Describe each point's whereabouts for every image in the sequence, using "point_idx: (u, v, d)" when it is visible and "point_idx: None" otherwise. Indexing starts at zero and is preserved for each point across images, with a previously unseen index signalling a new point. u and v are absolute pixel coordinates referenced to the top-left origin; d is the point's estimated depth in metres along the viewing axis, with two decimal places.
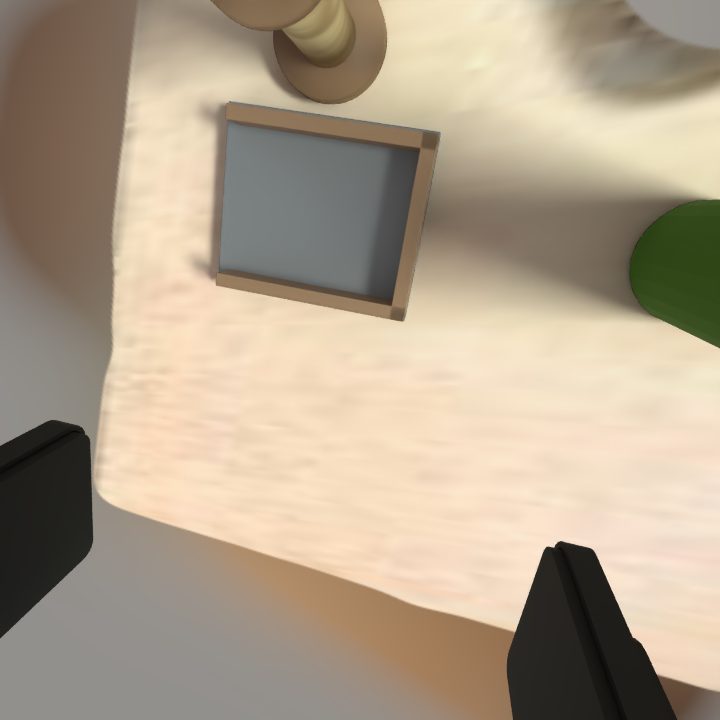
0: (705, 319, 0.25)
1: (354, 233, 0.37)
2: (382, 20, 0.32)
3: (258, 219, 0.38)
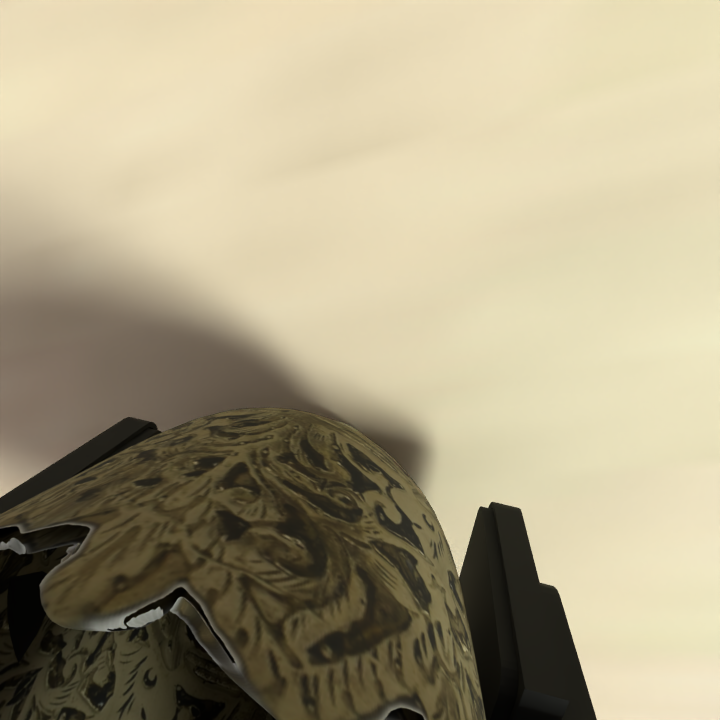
0: None
1: None
2: None
3: None
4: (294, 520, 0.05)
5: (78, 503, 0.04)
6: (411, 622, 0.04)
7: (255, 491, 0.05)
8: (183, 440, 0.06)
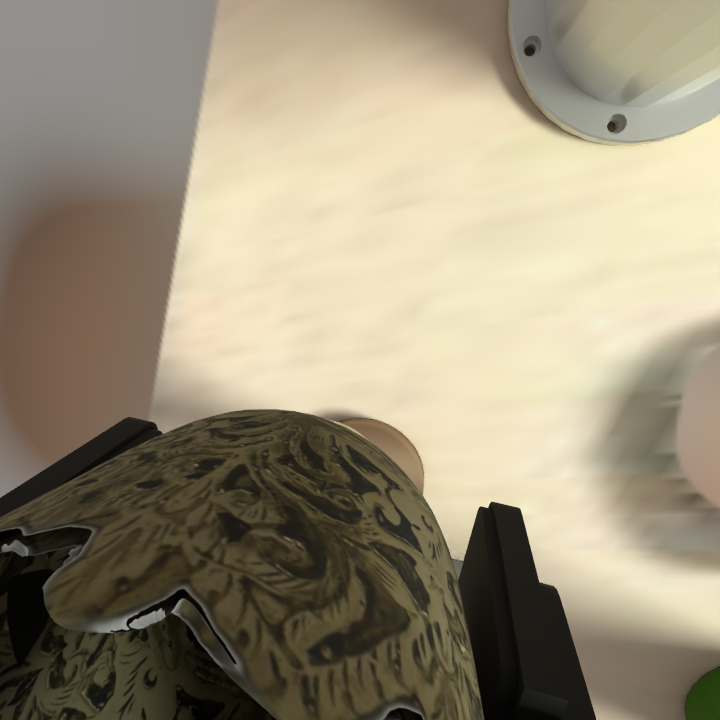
0: None
1: None
2: (421, 481, 0.29)
3: None
4: (293, 521, 0.05)
5: (80, 505, 0.04)
6: (410, 623, 0.04)
7: (255, 493, 0.05)
8: (183, 442, 0.06)
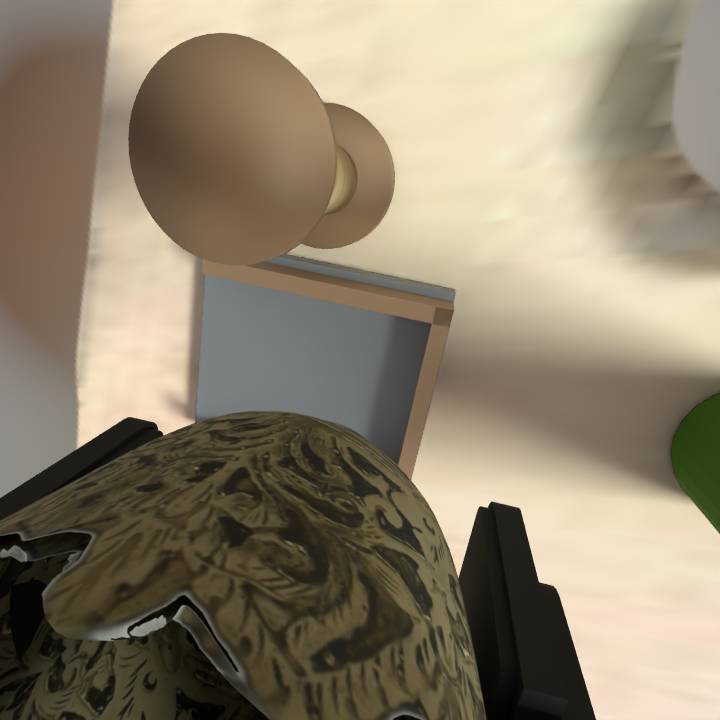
0: None
1: (351, 393, 0.32)
2: (389, 166, 0.27)
3: (240, 368, 0.32)
4: (295, 525, 0.05)
5: (79, 509, 0.04)
6: (413, 627, 0.04)
7: (256, 496, 0.05)
8: (183, 444, 0.06)
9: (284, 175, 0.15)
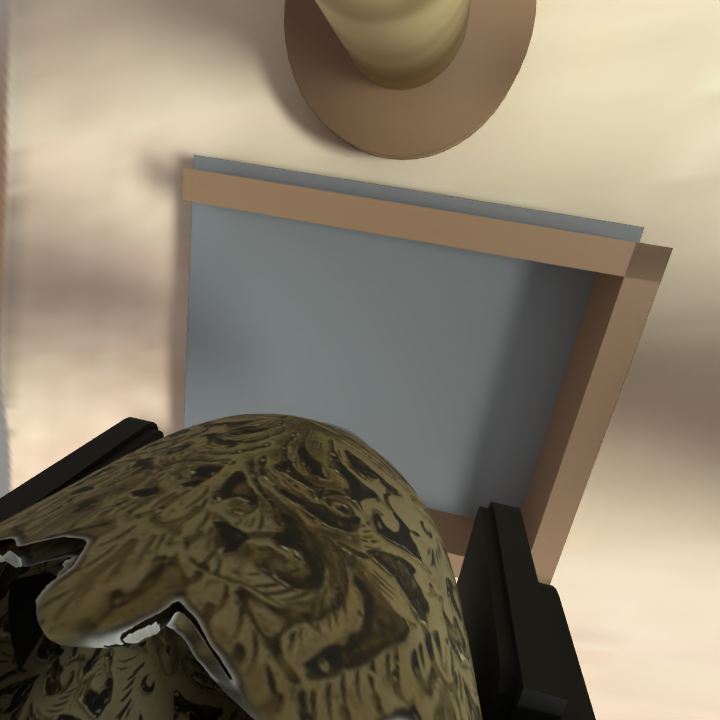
0: None
1: (442, 410, 0.19)
2: None
3: (253, 373, 0.20)
4: (291, 530, 0.05)
5: (75, 514, 0.04)
6: (409, 632, 0.04)
7: (252, 501, 0.05)
8: (180, 448, 0.06)
9: None
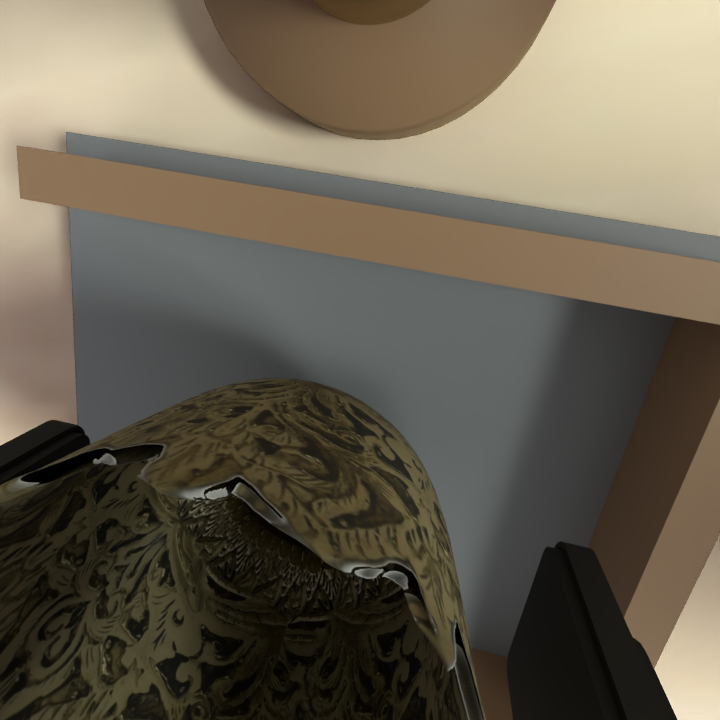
0: None
1: None
2: None
3: None
4: (312, 447, 0.06)
5: (147, 434, 0.06)
6: (403, 521, 0.06)
7: (280, 428, 0.06)
8: (215, 397, 0.07)
9: None
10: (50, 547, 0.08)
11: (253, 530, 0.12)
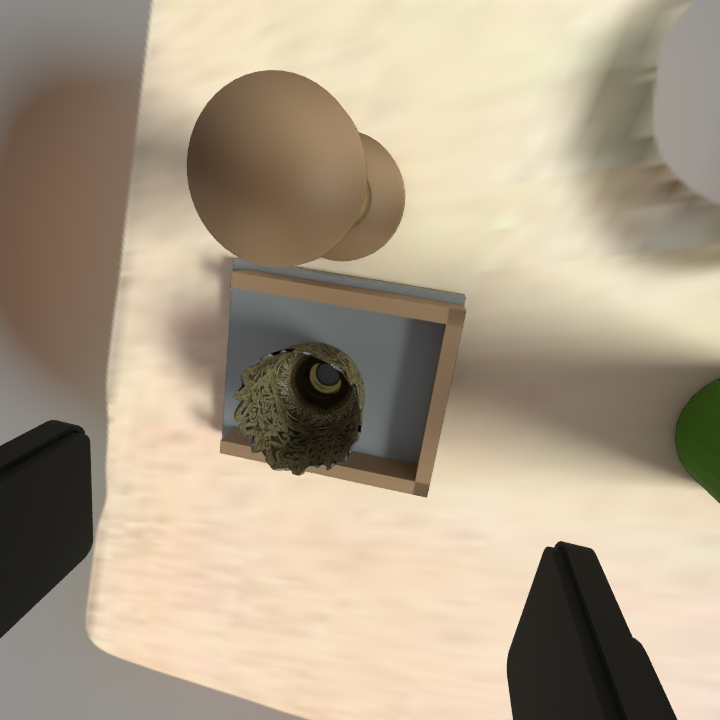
0: None
1: (371, 395, 0.33)
2: (401, 184, 0.29)
3: None
4: (324, 351, 0.27)
5: (288, 348, 0.26)
6: (345, 366, 0.26)
7: (317, 348, 0.27)
8: (298, 344, 0.28)
9: (323, 186, 0.18)
10: (253, 386, 0.28)
11: (301, 401, 0.32)
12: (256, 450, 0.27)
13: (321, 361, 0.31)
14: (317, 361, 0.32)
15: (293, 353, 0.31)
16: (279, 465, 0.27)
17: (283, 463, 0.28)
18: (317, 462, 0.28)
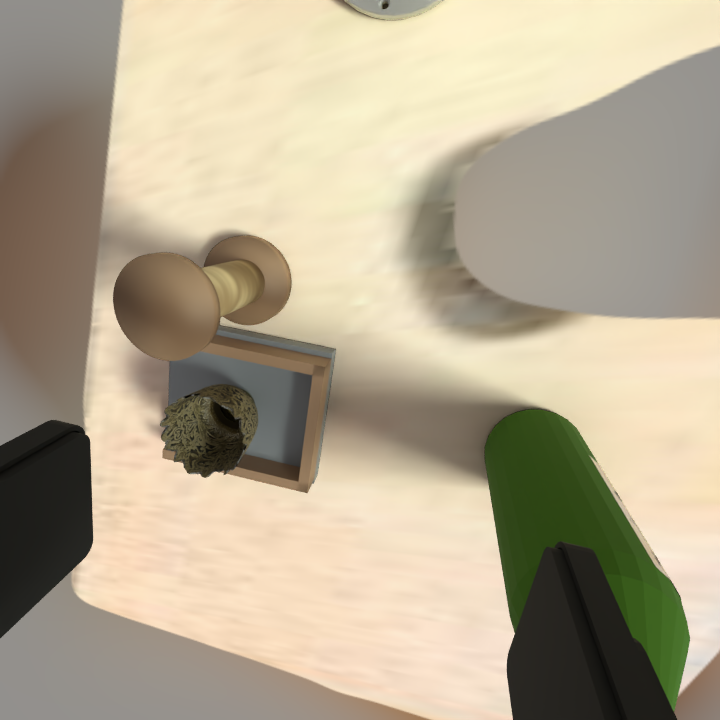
0: None
1: (271, 419, 0.46)
2: (284, 275, 0.42)
3: None
4: (222, 394, 0.39)
5: (197, 392, 0.39)
6: (235, 405, 0.39)
7: (218, 391, 0.40)
8: (208, 387, 0.41)
9: (191, 318, 0.30)
10: (177, 415, 0.41)
11: (219, 423, 0.45)
12: (177, 460, 0.40)
13: None
14: None
15: None
16: (193, 470, 0.40)
17: (196, 469, 0.41)
18: (219, 468, 0.41)
